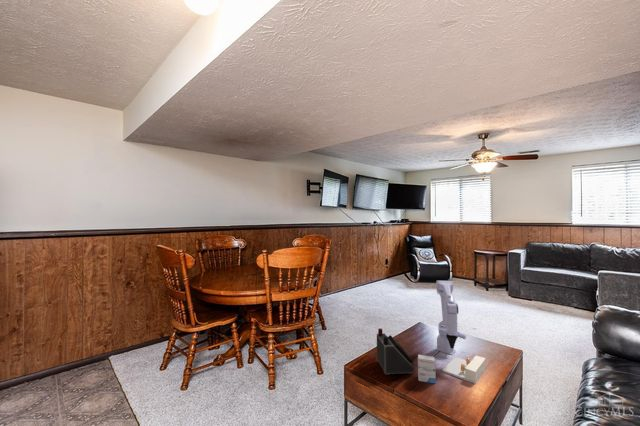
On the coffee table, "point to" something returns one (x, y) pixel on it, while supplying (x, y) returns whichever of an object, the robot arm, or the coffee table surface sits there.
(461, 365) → the knob
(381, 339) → the dark wedge stand
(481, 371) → the panel mount
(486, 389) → the coffee table surface
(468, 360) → the knob
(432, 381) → the ink box
